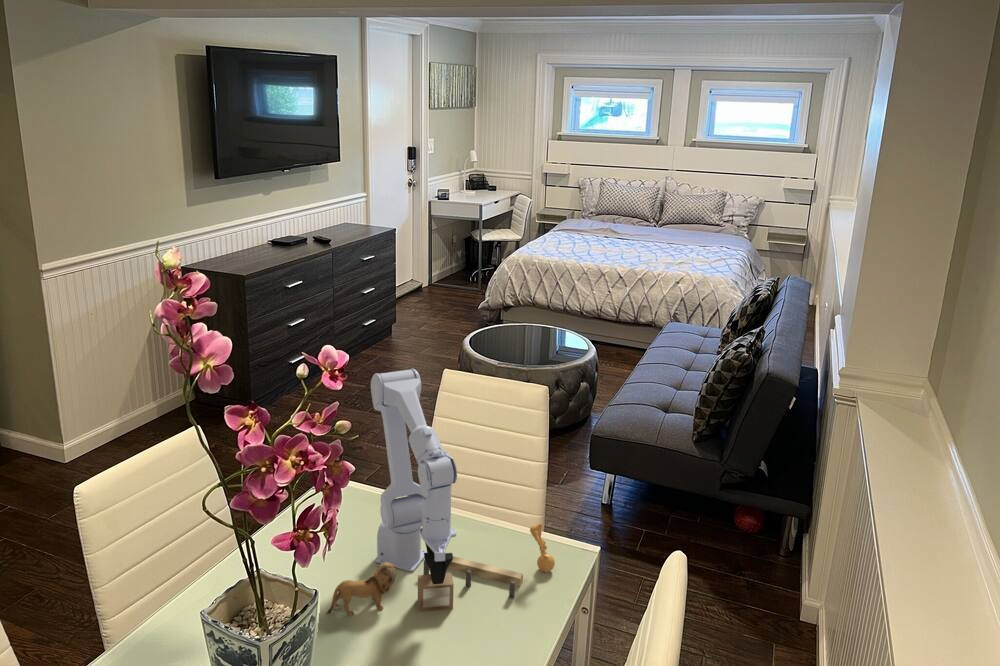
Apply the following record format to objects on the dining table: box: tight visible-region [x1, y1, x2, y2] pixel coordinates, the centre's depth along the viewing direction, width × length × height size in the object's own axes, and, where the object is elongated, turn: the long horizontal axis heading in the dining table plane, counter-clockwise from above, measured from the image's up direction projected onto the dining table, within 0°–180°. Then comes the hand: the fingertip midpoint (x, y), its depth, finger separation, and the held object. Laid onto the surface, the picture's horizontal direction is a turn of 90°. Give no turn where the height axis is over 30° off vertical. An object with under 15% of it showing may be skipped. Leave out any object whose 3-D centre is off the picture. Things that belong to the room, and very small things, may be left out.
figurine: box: [529, 523, 556, 573], centre depth 174 cm, size 8×6×12 cm
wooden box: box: [417, 572, 455, 612], centre depth 162 cm, size 7×4×6 cm, turn 100°
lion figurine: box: [326, 562, 397, 617], centre depth 160 cm, size 15×5×9 cm, turn 116°
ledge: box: [423, 555, 524, 599], centre depth 171 cm, size 21×7×4 cm, turn 70°
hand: (435, 571), depth 161 cm, fingers open, 7 cm apart
